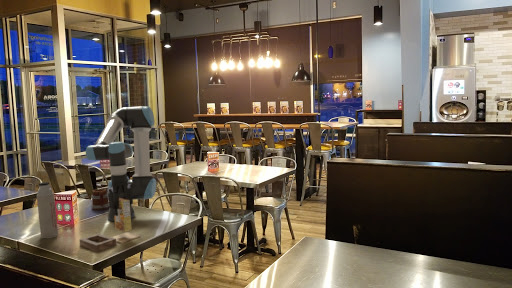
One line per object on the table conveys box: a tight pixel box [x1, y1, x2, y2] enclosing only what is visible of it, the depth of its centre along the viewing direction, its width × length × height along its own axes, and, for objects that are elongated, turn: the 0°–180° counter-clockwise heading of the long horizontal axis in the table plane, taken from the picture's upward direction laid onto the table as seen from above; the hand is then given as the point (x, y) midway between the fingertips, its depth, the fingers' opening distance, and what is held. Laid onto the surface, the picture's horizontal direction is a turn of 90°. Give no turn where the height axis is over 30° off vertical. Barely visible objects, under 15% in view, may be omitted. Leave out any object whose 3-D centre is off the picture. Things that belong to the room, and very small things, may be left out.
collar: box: [79, 233, 117, 253], centre depth 200 cm, size 10×15×3 cm, turn 51°
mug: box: [90, 188, 110, 211], centre depth 270 cm, size 12×14×15 cm
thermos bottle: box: [36, 181, 59, 239], centre depth 217 cm, size 8×8×28 cm
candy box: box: [114, 198, 132, 233], centre depth 208 cm, size 9×4×15 cm, turn 50°
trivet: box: [110, 231, 141, 244], centre depth 209 cm, size 11×11×1 cm
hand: (122, 220), depth 208 cm, fingers closed on candy box, 4 cm apart
